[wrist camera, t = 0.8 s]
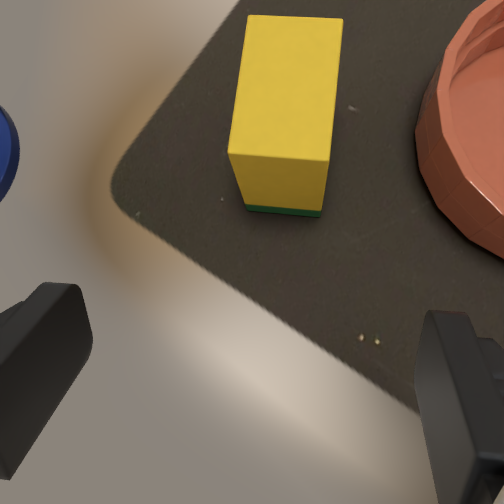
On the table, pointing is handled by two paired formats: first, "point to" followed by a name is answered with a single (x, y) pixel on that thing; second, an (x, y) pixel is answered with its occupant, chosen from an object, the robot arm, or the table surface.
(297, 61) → the sponge
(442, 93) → the bowl
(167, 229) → the table surface
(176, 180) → the table surface
